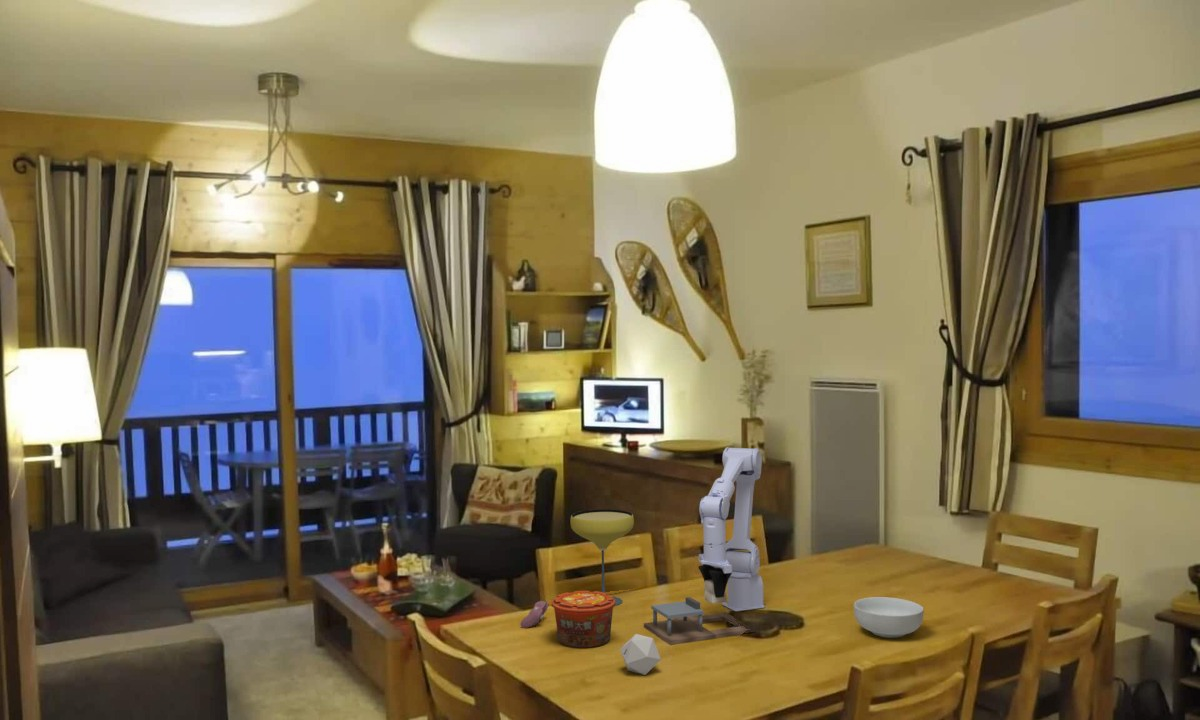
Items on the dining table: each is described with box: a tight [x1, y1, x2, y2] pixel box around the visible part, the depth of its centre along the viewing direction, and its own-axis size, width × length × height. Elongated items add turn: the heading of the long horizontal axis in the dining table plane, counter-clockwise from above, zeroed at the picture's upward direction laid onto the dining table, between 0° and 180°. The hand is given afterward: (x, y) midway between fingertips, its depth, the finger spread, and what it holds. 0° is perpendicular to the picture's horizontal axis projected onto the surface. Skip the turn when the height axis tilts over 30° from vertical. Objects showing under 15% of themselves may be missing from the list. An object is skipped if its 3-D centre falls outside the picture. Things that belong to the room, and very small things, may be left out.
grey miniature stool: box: [650, 596, 705, 634], centre depth 249 cm, size 10×10×6 cm
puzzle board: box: [643, 612, 750, 646], centre depth 251 cm, size 24×16×1 cm, turn 111°
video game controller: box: [520, 600, 550, 629], centre depth 259 cm, size 10×5×7 cm, turn 169°
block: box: [704, 580, 727, 604], centre depth 253 cm, size 4×4×5 cm
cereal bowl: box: [853, 596, 925, 639], centre depth 246 cm, size 17×17×7 cm
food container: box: [551, 590, 616, 649], centre depth 244 cm, size 16×16×11 cm
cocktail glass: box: [569, 508, 635, 607], centre depth 279 cm, size 18×18×25 cm
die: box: [619, 633, 662, 676], centre depth 221 cm, size 8×9×10 cm
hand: (715, 594), depth 253 cm, fingers closed on block, 4 cm apart
